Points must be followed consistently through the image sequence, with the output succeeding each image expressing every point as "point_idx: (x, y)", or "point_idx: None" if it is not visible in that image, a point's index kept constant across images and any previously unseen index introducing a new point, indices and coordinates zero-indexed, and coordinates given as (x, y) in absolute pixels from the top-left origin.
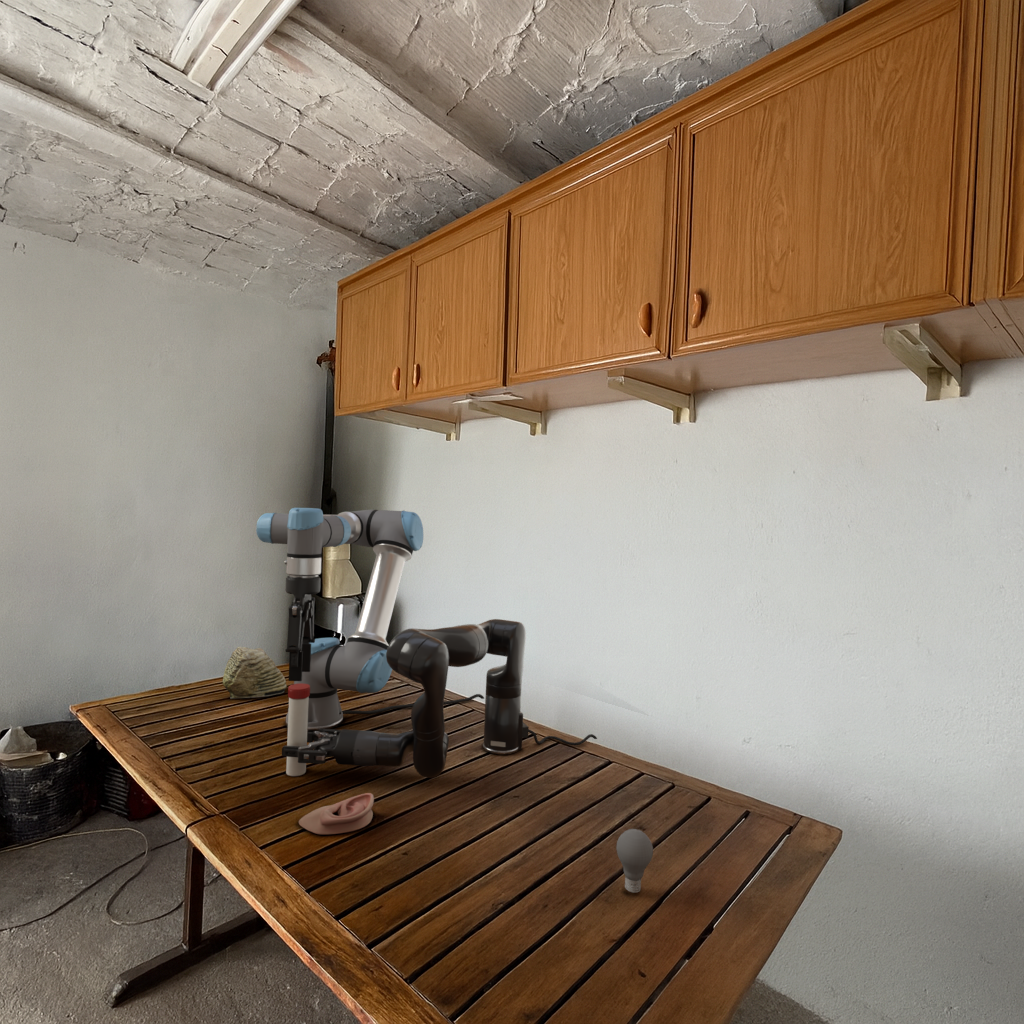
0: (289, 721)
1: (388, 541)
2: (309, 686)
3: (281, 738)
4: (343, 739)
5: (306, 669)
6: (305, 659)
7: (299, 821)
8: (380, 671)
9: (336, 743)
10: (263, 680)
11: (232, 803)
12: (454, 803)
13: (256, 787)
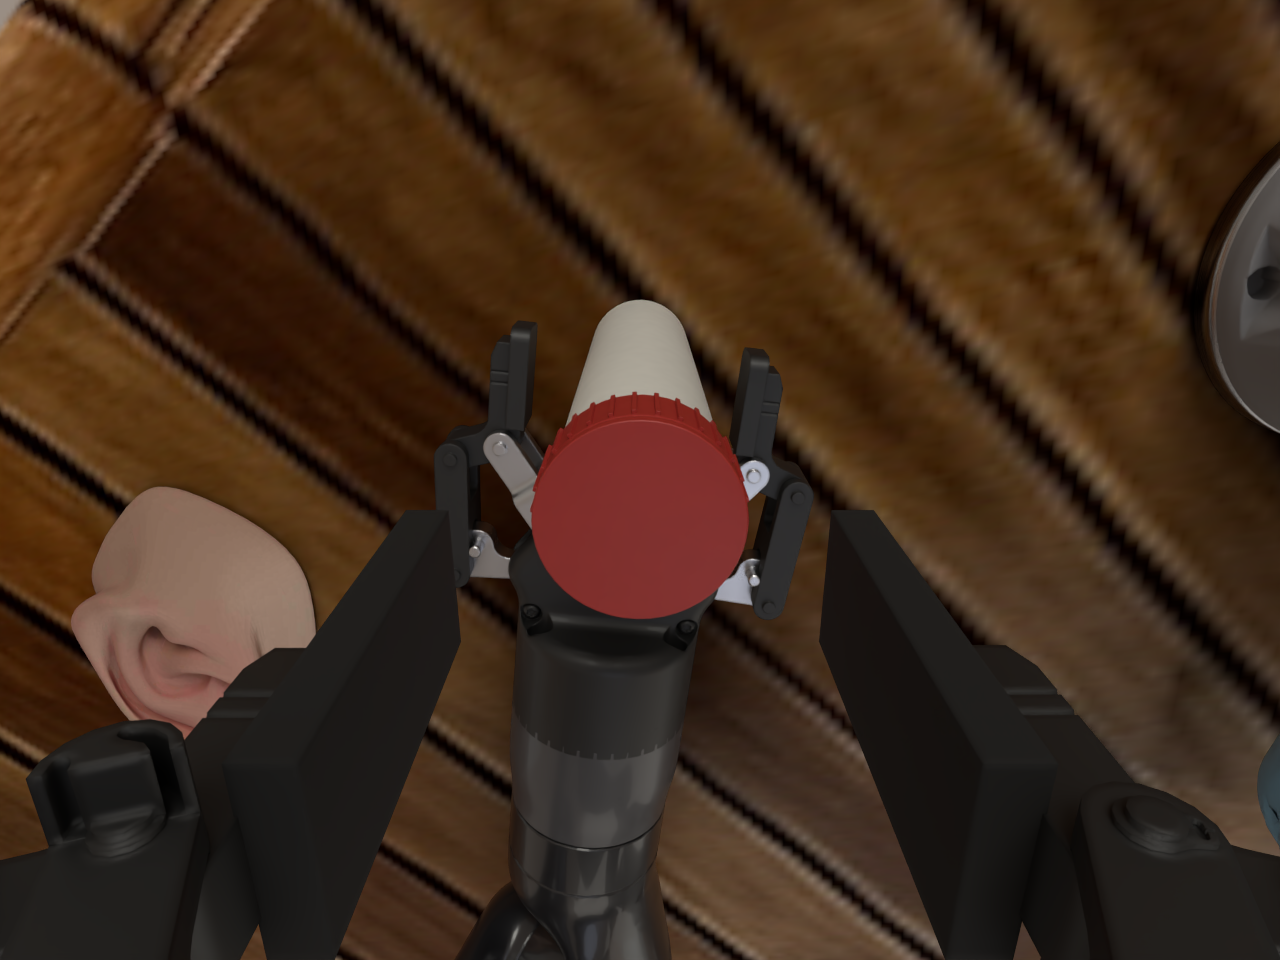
0: (587, 376)
1: None
2: (645, 617)
3: (1128, 128)
4: (537, 677)
5: (829, 625)
6: (864, 689)
7: (148, 493)
8: None
9: (577, 617)
10: None
11: (276, 136)
12: (411, 936)
13: (456, 198)
